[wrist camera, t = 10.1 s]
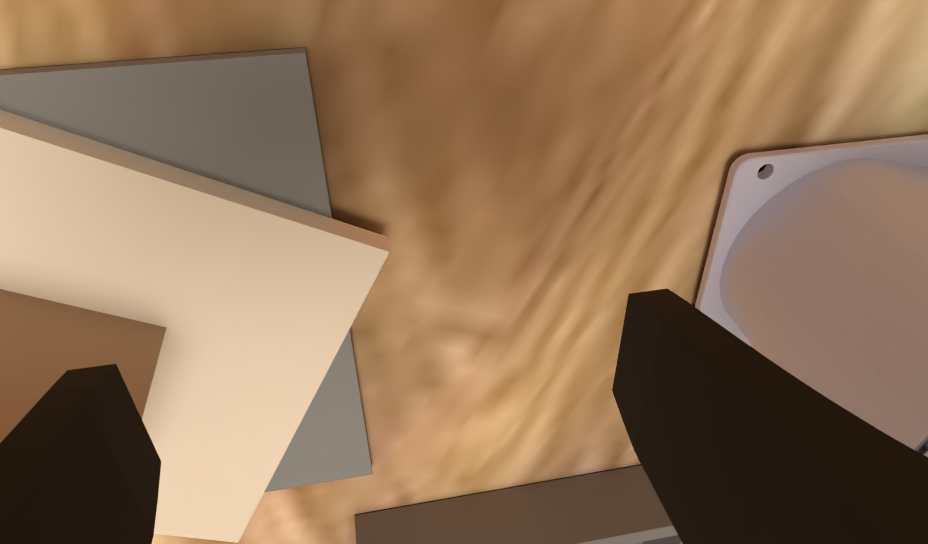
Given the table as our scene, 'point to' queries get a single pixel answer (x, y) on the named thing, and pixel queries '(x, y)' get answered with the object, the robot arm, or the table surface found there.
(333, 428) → the slate mat
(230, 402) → the lid
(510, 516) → the storage box
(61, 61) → the table surface
